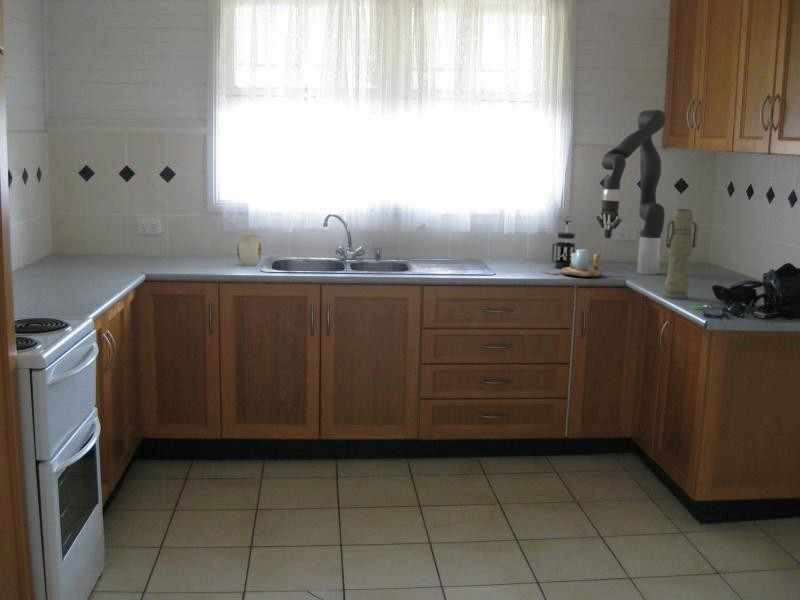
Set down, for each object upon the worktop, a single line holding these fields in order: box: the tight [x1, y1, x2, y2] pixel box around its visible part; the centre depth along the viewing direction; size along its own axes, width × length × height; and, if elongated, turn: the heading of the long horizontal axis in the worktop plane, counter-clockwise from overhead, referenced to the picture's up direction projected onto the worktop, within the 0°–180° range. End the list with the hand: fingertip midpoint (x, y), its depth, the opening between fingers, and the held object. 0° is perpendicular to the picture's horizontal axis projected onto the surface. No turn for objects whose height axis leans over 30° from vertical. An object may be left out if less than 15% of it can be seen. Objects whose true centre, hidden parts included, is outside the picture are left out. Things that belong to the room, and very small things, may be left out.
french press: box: [551, 219, 577, 270], centre depth 418 cm, size 12×9×23 cm
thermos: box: [664, 208, 699, 300], centre depth 345 cm, size 9×12×35 cm
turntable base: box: [571, 275, 592, 278], centre depth 398 cm, size 9×9×1 cm
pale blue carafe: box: [570, 248, 589, 271], centre depth 398 cm, size 10×6×9 cm, turn 26°
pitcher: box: [236, 234, 262, 267], centre depth 398 cm, size 11×18×14 cm, turn 7°
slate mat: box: [540, 269, 565, 276], centre depth 404 cm, size 10×10×1 cm
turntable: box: [561, 253, 603, 277], centre depth 397 cm, size 18×18×8 cm
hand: (607, 238), depth 392 cm, fingers closed
